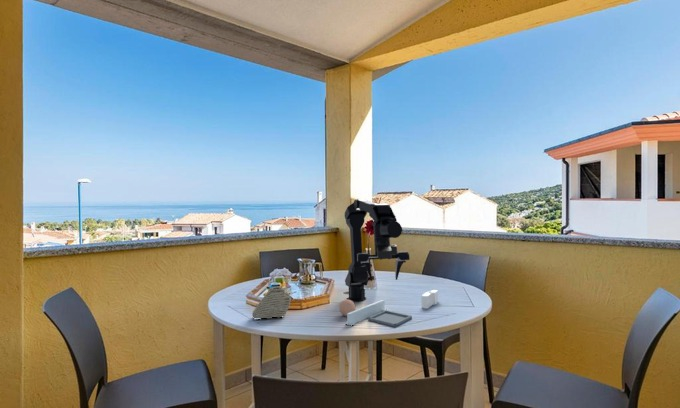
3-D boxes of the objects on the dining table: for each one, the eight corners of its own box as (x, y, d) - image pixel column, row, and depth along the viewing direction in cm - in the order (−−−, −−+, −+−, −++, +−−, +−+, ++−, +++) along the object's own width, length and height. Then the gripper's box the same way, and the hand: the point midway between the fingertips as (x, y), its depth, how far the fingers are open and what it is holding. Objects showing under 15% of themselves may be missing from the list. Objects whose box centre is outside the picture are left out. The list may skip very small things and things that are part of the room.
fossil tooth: (252, 320, 133) (291, 311, 138) (254, 324, 127) (295, 315, 132) (248, 289, 133) (288, 282, 138) (250, 292, 127) (291, 285, 132)
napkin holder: (424, 312, 137) (424, 297, 137) (408, 304, 148) (408, 290, 148) (455, 307, 143) (455, 293, 143) (438, 300, 153) (438, 287, 153)
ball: (335, 316, 132) (335, 300, 132) (346, 312, 136) (345, 296, 136) (348, 319, 128) (348, 302, 128) (358, 315, 133) (358, 299, 133)
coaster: (368, 320, 126) (368, 317, 126) (385, 312, 135) (385, 310, 135) (395, 327, 119) (395, 324, 119) (411, 318, 128) (411, 315, 128)
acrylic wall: (344, 324, 123) (344, 313, 123) (380, 309, 139) (380, 299, 139) (351, 326, 121) (351, 314, 121) (386, 310, 137) (386, 300, 137)
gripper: (357, 239, 123) (359, 284, 122) (411, 237, 123) (413, 282, 122) (356, 238, 134) (358, 279, 133) (405, 236, 134) (407, 278, 133)
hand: (383, 280), depth 130 cm, fingers open, 9 cm apart
